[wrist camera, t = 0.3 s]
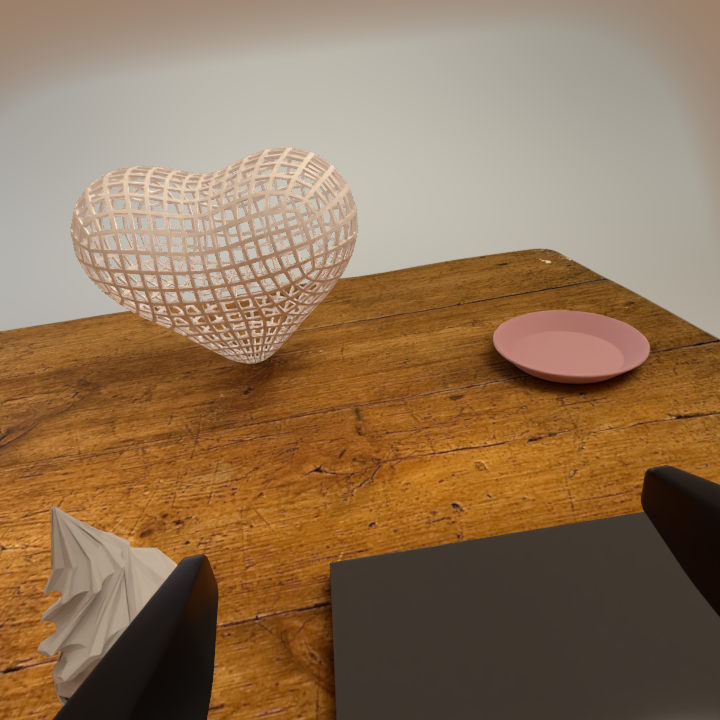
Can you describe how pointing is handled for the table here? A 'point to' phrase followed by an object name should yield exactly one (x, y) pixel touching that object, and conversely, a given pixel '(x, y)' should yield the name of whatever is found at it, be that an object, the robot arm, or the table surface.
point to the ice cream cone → (94, 595)
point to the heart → (203, 181)
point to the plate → (571, 346)
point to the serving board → (526, 629)
